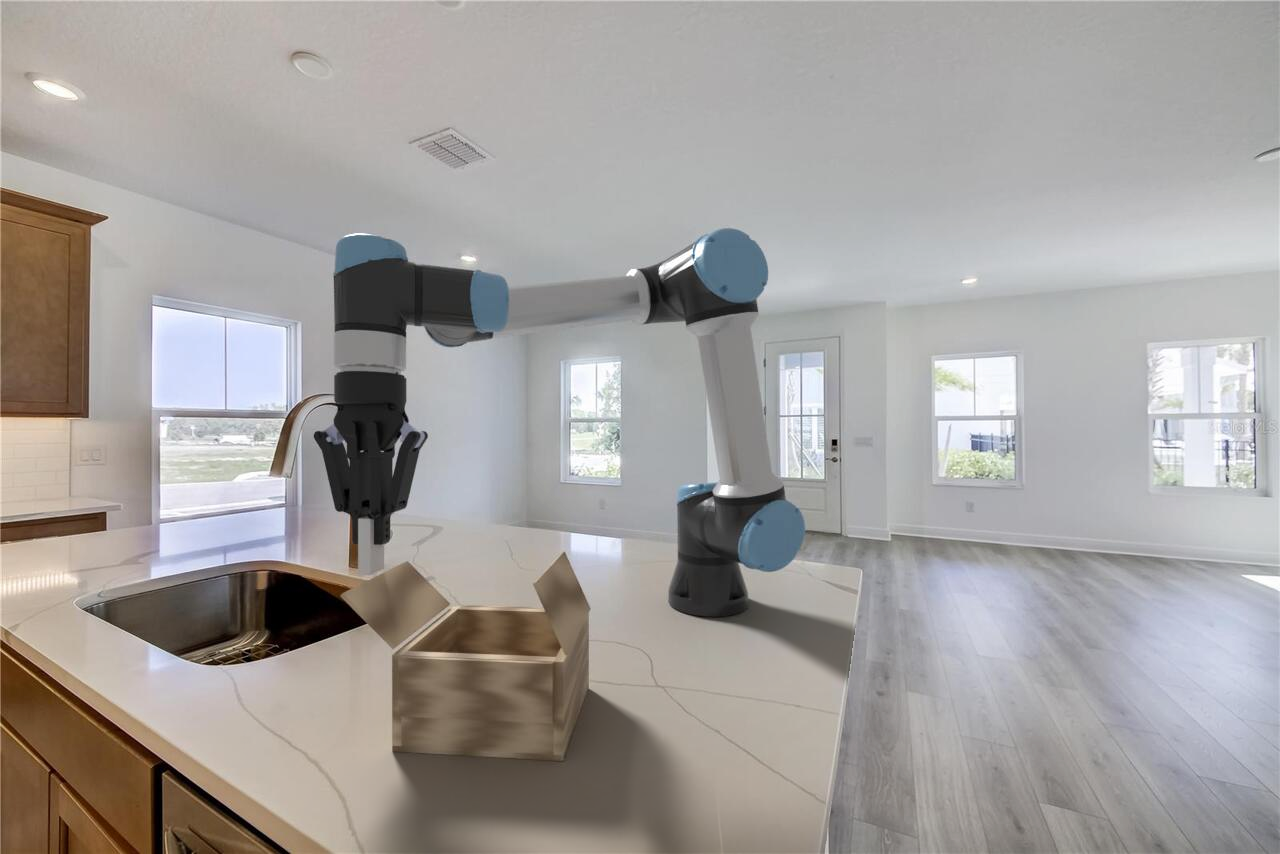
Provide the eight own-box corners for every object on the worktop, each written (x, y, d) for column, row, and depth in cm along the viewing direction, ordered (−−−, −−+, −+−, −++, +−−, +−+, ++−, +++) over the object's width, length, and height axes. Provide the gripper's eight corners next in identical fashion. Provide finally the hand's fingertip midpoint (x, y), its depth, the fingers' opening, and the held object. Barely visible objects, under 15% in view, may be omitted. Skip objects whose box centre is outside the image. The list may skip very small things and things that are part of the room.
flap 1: (407, 560, 65) (405, 563, 65) (342, 593, 53) (339, 595, 53) (450, 603, 65) (448, 606, 65) (395, 646, 52) (392, 649, 52)
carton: (589, 685, 65) (589, 608, 65) (562, 764, 50) (562, 664, 50) (455, 680, 66) (455, 604, 66) (389, 754, 51) (389, 657, 51)
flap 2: (587, 609, 63) (590, 608, 63) (565, 655, 51) (568, 654, 51) (561, 552, 64) (564, 551, 64) (532, 583, 51) (536, 582, 51)
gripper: (439, 375, 62) (439, 564, 62) (340, 375, 63) (340, 561, 63) (407, 368, 55) (406, 583, 55) (295, 369, 56) (295, 579, 56)
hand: (371, 571), depth 59 cm, fingers closed
